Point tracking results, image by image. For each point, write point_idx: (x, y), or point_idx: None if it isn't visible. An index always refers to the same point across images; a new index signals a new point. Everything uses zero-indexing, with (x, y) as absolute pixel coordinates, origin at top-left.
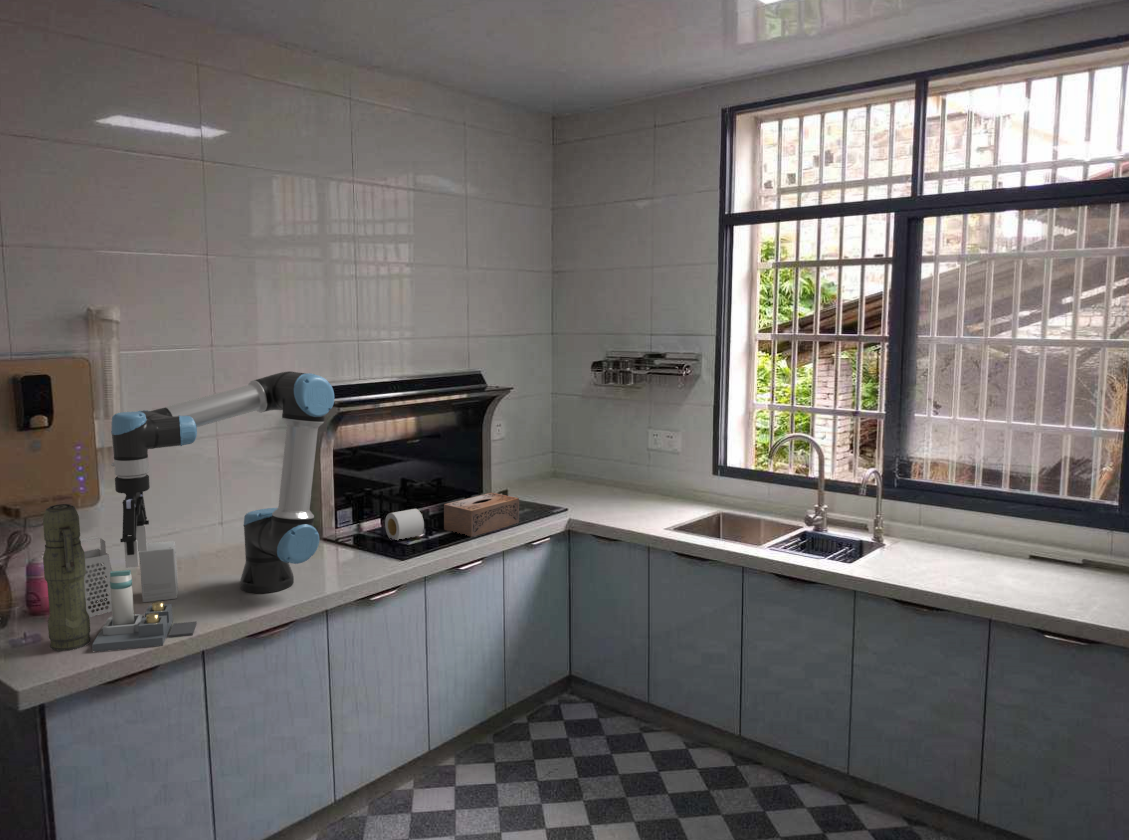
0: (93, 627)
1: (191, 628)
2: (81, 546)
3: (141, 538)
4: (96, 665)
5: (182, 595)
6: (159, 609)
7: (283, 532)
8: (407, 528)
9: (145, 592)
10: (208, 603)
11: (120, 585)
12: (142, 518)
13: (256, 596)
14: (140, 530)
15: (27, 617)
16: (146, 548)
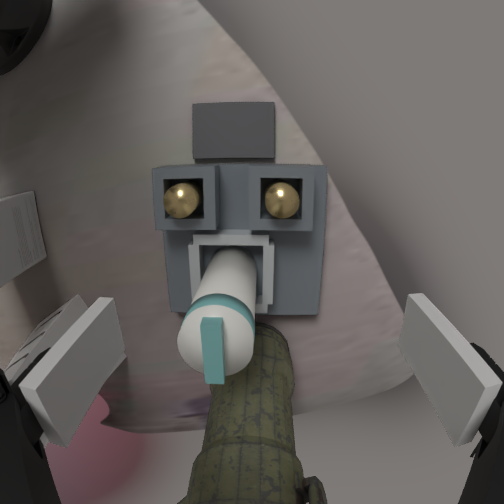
0: (169, 329)
1: (241, 108)
2: None
3: (86, 360)
4: (385, 284)
5: (19, 183)
6: (197, 193)
7: None
8: None
9: (33, 258)
10: (68, 109)
11: (254, 328)
12: (27, 460)
13: (60, 20)
14: (62, 397)
15: (115, 418)
16: (108, 304)
